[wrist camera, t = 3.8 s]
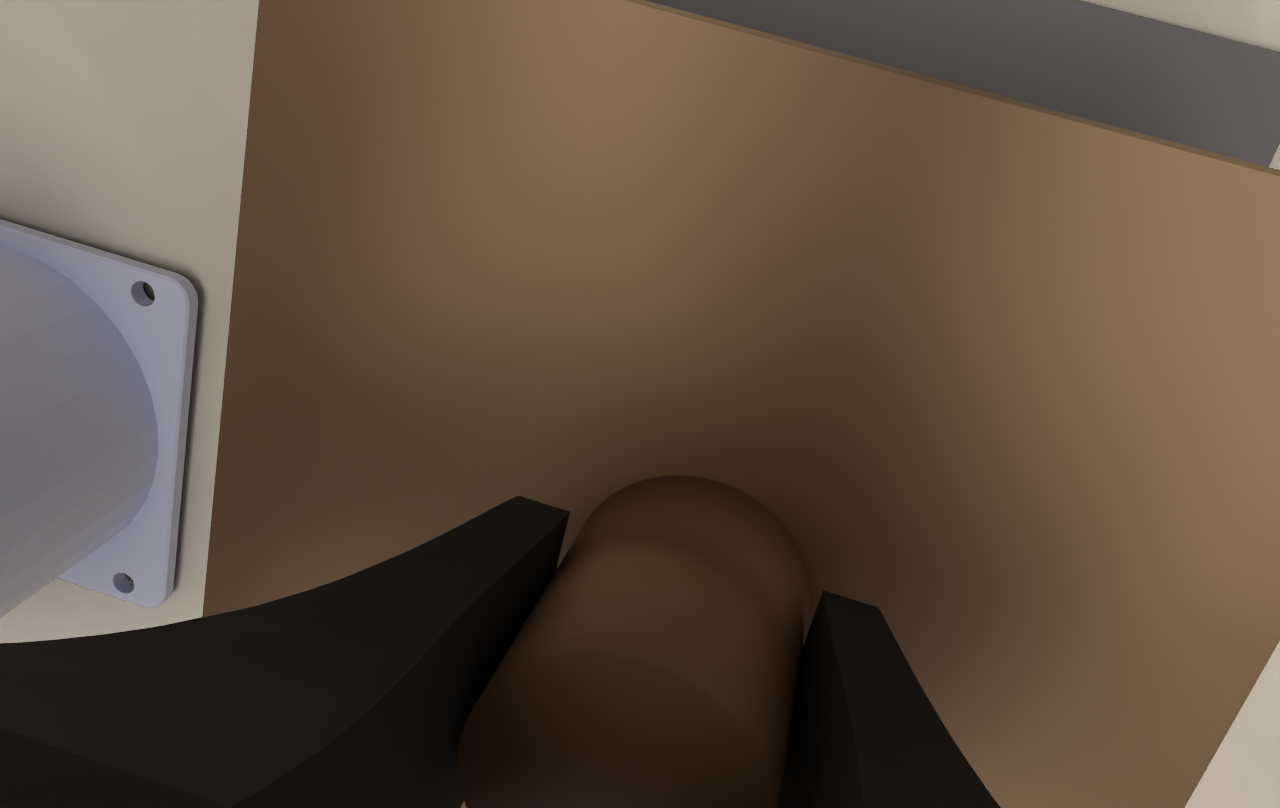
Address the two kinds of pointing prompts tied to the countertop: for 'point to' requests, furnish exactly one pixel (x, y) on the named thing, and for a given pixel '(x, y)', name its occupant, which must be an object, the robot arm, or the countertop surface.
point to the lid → (756, 390)
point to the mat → (1051, 60)
